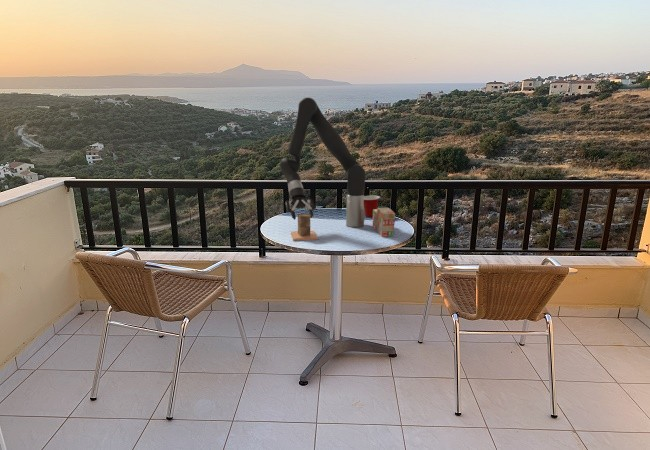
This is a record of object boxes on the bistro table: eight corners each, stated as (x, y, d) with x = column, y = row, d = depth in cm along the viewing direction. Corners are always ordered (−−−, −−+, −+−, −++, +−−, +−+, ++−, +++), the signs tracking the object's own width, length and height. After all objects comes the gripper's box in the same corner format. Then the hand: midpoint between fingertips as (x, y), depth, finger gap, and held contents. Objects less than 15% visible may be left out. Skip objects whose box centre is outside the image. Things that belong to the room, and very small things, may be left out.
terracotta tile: (314, 232, 206) (314, 230, 205) (317, 239, 194) (317, 237, 194) (290, 233, 204) (290, 231, 203) (293, 240, 192) (293, 238, 192)
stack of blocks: (372, 225, 220) (373, 203, 217) (383, 225, 221) (384, 203, 217) (381, 237, 200) (382, 213, 196) (394, 236, 200) (395, 213, 197)
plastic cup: (360, 214, 245) (361, 194, 242) (378, 214, 245) (379, 195, 241) (361, 218, 234) (361, 198, 231) (379, 218, 234) (380, 198, 231)
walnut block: (307, 232, 202) (307, 213, 199) (310, 235, 197) (310, 215, 194) (297, 233, 200) (297, 214, 197) (300, 236, 196) (300, 216, 193)
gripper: (284, 187, 200) (290, 215, 192) (311, 185, 204) (318, 212, 197) (281, 196, 206) (288, 223, 199) (308, 194, 211) (315, 220, 203)
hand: (303, 217), depth 198 cm, fingers open, 8 cm apart
